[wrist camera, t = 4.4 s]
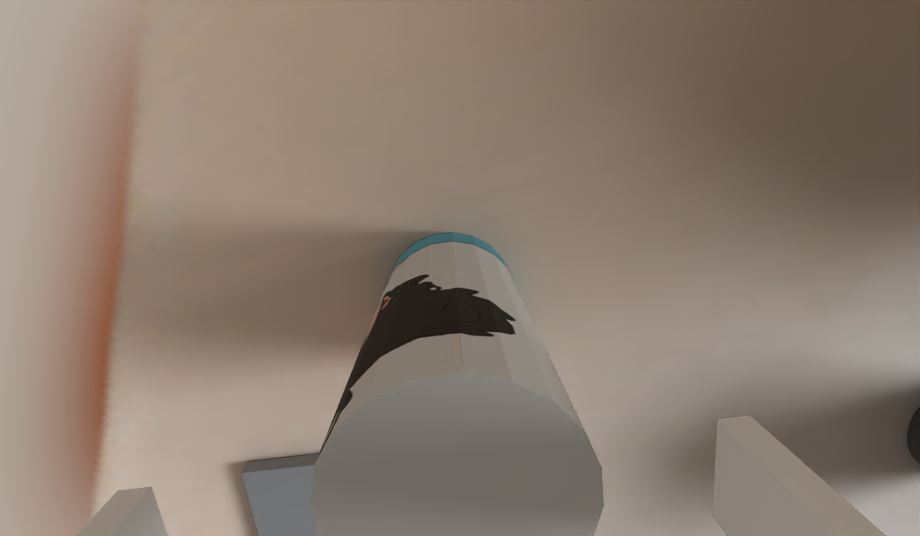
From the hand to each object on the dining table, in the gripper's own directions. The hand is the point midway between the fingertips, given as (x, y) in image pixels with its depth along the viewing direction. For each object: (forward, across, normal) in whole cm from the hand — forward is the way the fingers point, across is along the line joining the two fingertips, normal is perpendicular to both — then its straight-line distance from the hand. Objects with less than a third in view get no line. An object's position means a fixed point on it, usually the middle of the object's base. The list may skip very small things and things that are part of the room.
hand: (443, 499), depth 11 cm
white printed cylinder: (+15, 0, 0) cm, 15 cm away
